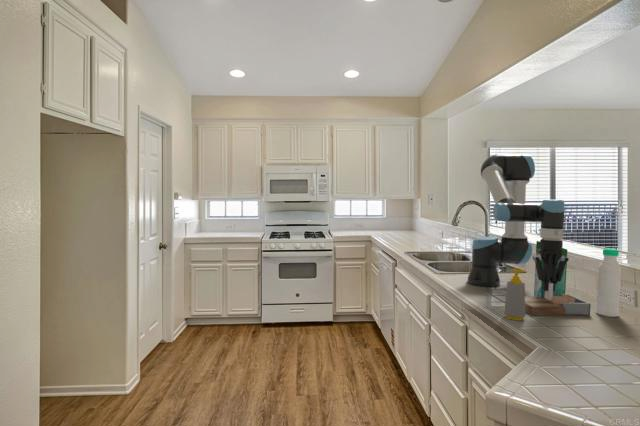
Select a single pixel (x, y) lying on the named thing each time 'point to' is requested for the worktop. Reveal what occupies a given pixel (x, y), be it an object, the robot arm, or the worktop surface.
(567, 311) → the tray
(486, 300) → the worktop surface
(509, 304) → the soap bottle
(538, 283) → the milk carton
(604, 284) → the water bottle
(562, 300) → the tile
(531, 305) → the walnut board
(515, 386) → the worktop surface
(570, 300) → the tile
